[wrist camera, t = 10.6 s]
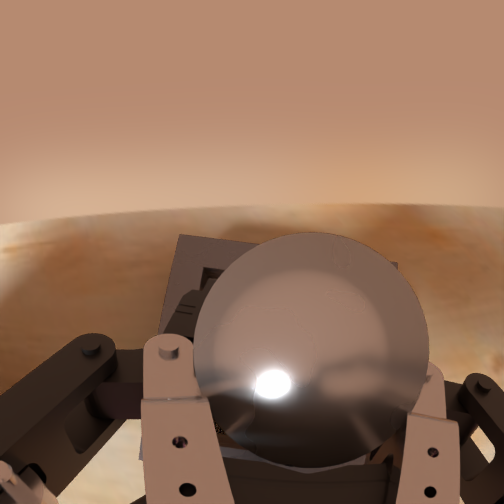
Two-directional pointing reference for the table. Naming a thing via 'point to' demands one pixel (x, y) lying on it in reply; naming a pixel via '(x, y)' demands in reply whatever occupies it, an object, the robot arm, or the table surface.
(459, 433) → the robot arm
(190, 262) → the square frame
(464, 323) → the table surface
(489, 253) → the table surface
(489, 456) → the table surface
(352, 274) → the silver metal cylinder
